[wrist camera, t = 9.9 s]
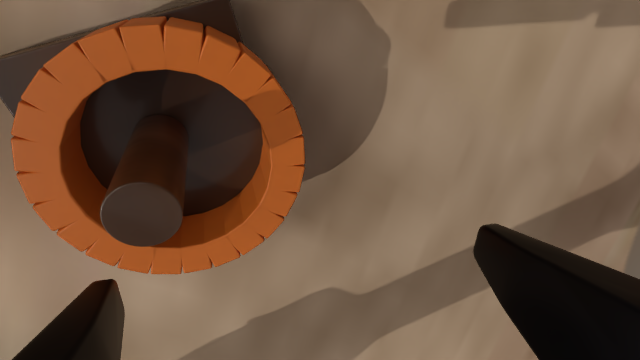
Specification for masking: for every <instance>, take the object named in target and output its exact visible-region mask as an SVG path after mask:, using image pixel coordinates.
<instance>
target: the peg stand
mask: <svg viewBox="0 0 640 360" xmlns="http://www.w3.org/2000/svg"><path fill="white" fill-rule="evenodd" d="M163 16H165V17H166V18H167V21H168V20H169V18H170V17H174V18H178V19H183V20H188V21H193V22H198V23H202V24H203V33H204V30H205V28H206V26H210V27H212V28H214V29H216V30H218V31H220V32H222V33H224V34H226V35H229V36H231V37H233V38H234V39H235V40H236V42H237V43H238V42H241V43H242V44H243V41H242V38H241V35H240V32H239V29H238V26H237V22H236V19H235V16H234V13H233V10H232V7H231V4H230V1H229V0H200V1H197V2H193V3H189V4H186V5H182V6H179V7H175V8H172V9H168V10H164V11H161V12H157V13H154V14H150V15H146V16H143V17H139V18H145V17H163ZM100 29H101V28H100ZM96 30H98V29H96ZM96 30H93V31H89V32H85V33H82V34H78V35H75V36H71V37H68V38H64V39H60V40H57V41H53V42H50V43H46V44H42V45H39V46H35V47H32V48H28V49H24V50H21V51H17V52H14V53H10V54H7V55H3V56H0V98H1V99H2V101H3V102H4V104H5V105H6V106H7V108H8V109H9V111H10V112H11V114H12V115H13V117H14V118H15V115H16V110H17V106H18V103H19V102H20V101H21V100H23V99H21V96H22V94H23V93H24V91H25V90H26V88H27V87H28V85H29V84H30V82H31V81H32V79H33V78H34V76H35V75H36V73H37V72H38V70H39V69H41V68H42V67H44V66H43V65H44V64H45V63H46V62H48V61H49V60H50V59H52V58H53V57H54V56H56V55H57V54H58V53H60V52H61V51H62V50H64V49H65V48H66V47H68V46H69V45H70V44H72V43H74V42H75V41H77V40H79V39H81V38H83V37H84V36H86V35H88V34H90V33H92V32H94V31H96ZM243 45H244V44H243ZM80 135H81V147H82V150H83V153H84V156H85V158H86V161H87V164H88V167H89V168H90V169H91V171H92V172H93V174H94V175H95V176H96V178H97V179H98V181H99V182H100V183H101V185H102V186H104V187H105V188H106V189H107V192H106V194H105V196H104V199H103V201H102V204H101V207H100V219H101V222H102V225H103V227H104V228H105V230H106V231H107V232H108V233H109V234H110V235H111V236H112V237H113V238H115V239H116V240H118V241H120V242H122V243H124V244H127V245H131V246H138V247H147V246H154V245H157V244H160V243H163V242H165V241H166V240H168V239H170V238H171V237H172V236H173V235H174V234H175V233H176V232H177V231H178V229H179V228H180V226H181V223H182V220H183V216H189V215H195V214H201V213H205V212H207V211H210V210H212V209H215V208H217V207H220V206H222V205H224V204H225V203H227V202H228V201H230V200H231V199H233V198H234V197H235V196H237V195H238V194H239V193H240V192H241V191H242V190H243V189H244V188H245V186H246V185H247V184H248V183H249V182H250V181H251V179H252V178H253V176H254V174H255V172H256V170H257V168H258V166H259V163H260V158H261V152H262V146H263V138H262V129H261V124H260V122H259V121H258V119H257V118H256V117H255V115H254V114H253V113H252V112H251V110H250V109H249V108H248V106H247V105H246V104H245V103H244V102H243V101H242V100H240V99H239V98H238V97H237V96H235V95H234V94H233V93H231V92H230V91H229V90H227V89H226V88H225V87H223V86H222V85H220V84H218V83H215V82H213V81H211V80H208V79H206V78H204V77H201V76H199V75H197V74H192V73H186V72H179V71H173V70H167V69H165V70H153V71H141V72H134V73H131V74H128V75H126V76H123V77H120V78H117V79H115V80H112V81H109V82H107V83H105V84H104V85H103V86H101V87H100V88H98V89H97V90H96V91H94V92H93V93H92V94H91V95H90V97H89V98H88V99H87V101H86V105H85V108H84V111H83V115H82V118H81V121H80Z"/></svg>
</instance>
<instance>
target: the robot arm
mask: <svg viewBox="0 0 640 360" xmlns="http://www.w3.org/2000/svg"><path fill="white" fill-rule="evenodd" d="M474 257H475V260H476V261H477V263H478V265H479V267H480V268H481V270H482V272H483V274H484V276H485V277H486V279H487V281H488V283H489V284H490V286H491V288H492V290H493V292H494V293H495V295H496V297H497V299H498V300H499V302H500V304H501V305H502V307H503V308H504V310H505V311H506V313H507V315H508V316H509V317H510V319H511V320H512V322H513V323H514V325H515V326H516V327H517V329H518V330H519V332H520V333H521V335H522V336H523V337H524V339H525V340H526V342H527V343H528V345H529V346H530V348H531V349H532V350H533V352H534V353H535V355H536V356H537V358H538V359H539V360H640V279H637V278H635V277H632V276H630V275H627V274H625V273H622V272H619V271H617V270H614V269H612V268H609V267H607V266H604V265H601V264H599V263H596V262H594V261H591V260H589V259H586V258H583V257H581V256H578V255H576V254H573V253H571V252H568V251H565V250H563V249H560V248H558V247H555V246H553V245H550V244H547V243H545V242H542V241H540V240H537V239H535V238H532V237H529V236H527V235H524V234H522V233H519V232H517V231H514V230H511V229H509V228H506V227H504V226H501V225H499V224H488V225H483V226H481V227H480V229H479V231H478V235H477V238H476V242H475V246H474ZM124 317H125V313H124V306H123V302H122V299H121V295H120V292H119V288H118V285H117V283H116V281H115V280H113V279H108V280H101V281H95V282H93V283H91V284H90V285H89V286H88V287H87V288H86V289H85V290H84V291H83V292H82V293H81V294H80V295H79V296H78V297H77V298H76V299H75V300H73V301H72V302H71V303H70V304H69V305H68V306H67V307H66V308H65V309H64V310H63V311H62V312H61V313H60V314H59V315H58V316H57V317H56V318H55V319H54V320H53V321H52V322H51V323H49V324H48V325H47V326H46V327H45V328H44V329H43V330H42V331H41V332H40V333H39V334H38V335H37V336H36V337H35V338H34V339H33V340H32V341H31V342H30V343H29V344H28V345H27V346H25V347H24V348H23V349H22V350H21V351H20V352H19V353H18V354H17V355H16V356H15V357H14V358H13V359H12V360H120V358H121V348H122V338H123V328H124Z"/></svg>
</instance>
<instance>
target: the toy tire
mask: <svg viewBox="0 0 640 360" xmlns="http://www.w3.org/2000/svg"><path fill="white" fill-rule="evenodd" d="M43 66H44V67H42V68H41V69H39V70H38V72H37V73H36V75H35V76H34V78H33V79H32V81H31V82H30V84H29V85H28V87H27V88H26V90H25V91H24V93H23V94H22V96H21V99H23V100H21V101H20V102H19V103H18V106H17V110H16V115H15V119H14V123H13V127H12V131H11V134H12V135H14V137H13V138H12V139H11V144H12V152H13V161H14V169H15V171H19V172H18V173H17V178H18V180H19V182H20V184H21V187H22V189H23V191H24V193H25V195H26V197H27V200H28V202H29V203H35V204H34V205H33V209H34V210H35V211H36V213H37V214H38V215H39V216H40V217H41V218H42V220H43V221H44V222H45V223H46V224H47V225H48V226H49V228H50V229H51V230H52V231H55V230H57V229H59V230H58V232H57V235H58V236H59V237H61V238H62V239H64V240H65V241H66V242H68V243H69V244H71V245H72V246H74V247H75V248H76V249H78V250H79V251H81V252H82V251H84V250H86V249H87V248H88V249H87V251H86V255H88V256H90V257H92V258H95V259H97V260H100V261H102V262H104V263H107V264H109V265H112V266H115V265H116V264H117V263H118V261H119V264H118V268H121V269H126V270H131V271H136V272H141V273H148V272H149V270H150V268H151V273H152V274H181V271H182V267H183V271H184V272H185V273H189V272H194V271H199V270H204V269H209V268H212V263H213V264H214V266H215V267H217V266H220V265H222V264H224V263H227V262H229V261H232V260H234V259H237V258H239V257H240V253H241V254H242V255H245V254H246V253H247V252H249V251H250V250H252V249H253V248H255V247H256V246H258V245H259V244H261V243H262V242H263V241H264V237H265V238H268V237H269V236H270V235H271V234H272V233H273V232H274V231H275V230H276V229H277V227H278V226H279V225H280V224H281V223H282V222H283V221H284V217H283V216H287V214H288V212H289V210H290V208H291V207H292V205H293V203H294V201H295V199H296V197H297V192H299V191H300V187H301V182H302V178H303V173H304V169H305V167H304V165H303V164H305V150H304V137H303V136H302V134H303V132H302V129H301V126H300V123H299V120H298V117H297V114H296V112H295V109H294V107H293V105H292V104H291V101H290V99H289V98H288V96H287V95H286V93H285V92H284V90H283V89H282V87H281V86H280V85H279V83H278V82H277V80H276V79H275V77H274V76H273V74H272V73H271V72H270V70H269V69H268V67H267V66H266V65H265V64H264V63H263V61H262V60H261V59H260V58H258V57H257V56H256V55H255V54H254V53H253V52H251V51H250V50H249V49H248V48H247V47H246V46H244V45H243V44H242V43H241V42H238V43H237V42H236V40H235V39H234V38H233V37H231V36H229V35H226V34H224V33H222V32H220V31H218V30H216V29H214V28H212V27H210V26H206V28H205V30H204V33H203V24H202V23H198V22H193V21H188V20H183V19H178V18H174V17H170V18H169V20H168V21H167V18H166V17H165V16H163V17H145V18H132V19H131V20H127V19H126V20H123V21H121V22H118V23H115V24H112V25H109V26H106V27H103V28H101V29H98V30H96V31H94V32H92V33H90V34H88V35H86V36H84V37H83V38H81V39H79V40H77V41H75V42H74V43H72V44H70V45H69V46H68V47H66V48H65V49H64V50H62V51H61V52H60V53H58V54H57V55H56V56H54V57H53V58H52V59H50V60H49V61H48V62H46V63H45V64H44V65H43ZM165 69H167V70H173V71H179V72H186V73H192V74H197V75H199V76H201V77H204V78H206V79H208V80H211V81H213V82H215V83H218V84H220V85H222V86H223V87H225V88H226V89H227V90H229V91H230V92H231V93H233V94H234V95H235V96H237V97H238V98H239V99H240V100H242V101H243V102H244V103H245V104H246V105H247V106H248V108H249V109H250V110H251V112H252V113H253V114H254V115H255V117H256V118H257V119H258V121H259V122H260V124H261V129H262V138H263V146H262V152H261V158H260V163H259V166H258V168H257V170H256V172H255V174H254V176H253V178H252V179H251V181H250V182H249V183H248V184H247V185H246V186H245V188H244V189H243V190H242V191H241V192H240V193H239V194H238V195H237V196H235V197H234V198H233V199H231V200H230V201H228V202H227V203H225V204H224V205H222V206H220V207H217V208H215V209H212V210H210V211H207V212H205V213H201V214H195V215H189V216H183V220H182V223H181V226H180V228H179V229H178V231H177V232H176V233H175V234H174V235H173V236H172V237H171V238H170V239H168V240H166V241H165V242H163V243H160V244H157V245H154V246H147V247H138V246H131V245H127V244H124V243H122V242H120V241H118V240H116V239H115V238H113V237H112V236H111V235H110V234H109V233H108V232H107V231H106V230H105V228H104V227H103V225H102V222H101V219H100V207H101V204H102V201H103V199H104V196H105V194H106V192H107V189H106V188H105V187H104V186H102V185H101V183H100V182H99V181H98V179H97V178H96V176H95V175H94V174H93V172H92V171H91V169H90V168H89V167H88V164H87V161H86V158H85V156H84V153H83V150H82V147H81V135H80V121H81V118H82V115H83V111H84V108H85V105H86V101H87V99H88V98H89V97H90V95H91V94H92V93H93V92H94V91H96V90H97V89H98V88H100V87H101V86H103V85H104V84H105V83H107V82H109V81H112V80H115V79H117V78H120V77H123V76H126V75H128V74H131V73H134V72H141V71H153V70H165Z"/></svg>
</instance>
